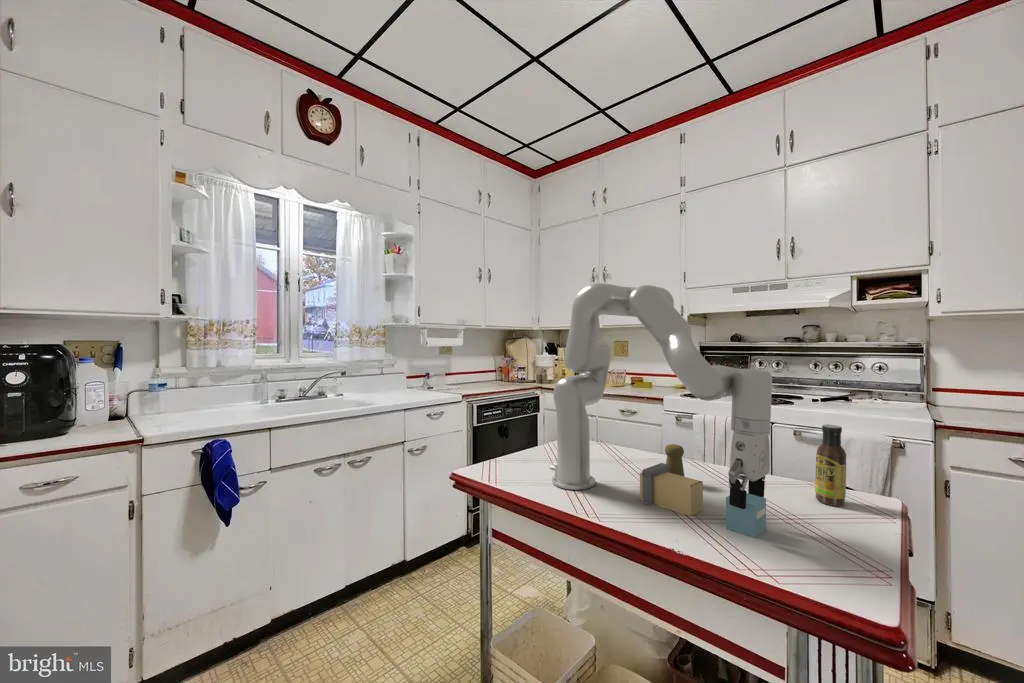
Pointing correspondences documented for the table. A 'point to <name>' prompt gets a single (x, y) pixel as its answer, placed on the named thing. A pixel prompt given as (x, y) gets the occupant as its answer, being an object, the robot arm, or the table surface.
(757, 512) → the teal box
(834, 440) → the sauce bottle
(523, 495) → the table surface
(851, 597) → the table surface
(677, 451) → the brown knobbed peg
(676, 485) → the tan oblong box
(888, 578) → the table surface
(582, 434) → the robot arm
